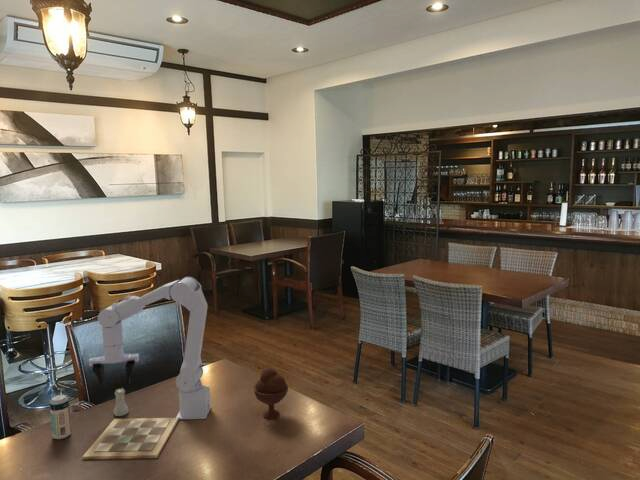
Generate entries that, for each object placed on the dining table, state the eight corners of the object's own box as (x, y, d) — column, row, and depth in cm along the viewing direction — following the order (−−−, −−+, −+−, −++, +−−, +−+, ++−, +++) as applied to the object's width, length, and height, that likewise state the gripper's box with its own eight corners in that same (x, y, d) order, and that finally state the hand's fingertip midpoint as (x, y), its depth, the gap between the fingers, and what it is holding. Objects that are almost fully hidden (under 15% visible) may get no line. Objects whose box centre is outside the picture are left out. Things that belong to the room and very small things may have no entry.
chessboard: (178, 420, 142) (178, 417, 142) (157, 457, 123) (157, 454, 122) (114, 421, 142) (114, 418, 142) (82, 459, 122) (82, 455, 122)
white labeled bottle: (74, 432, 136) (71, 393, 135) (64, 440, 131) (61, 401, 130) (59, 431, 136) (56, 393, 135) (48, 440, 132) (45, 400, 130)
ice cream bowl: (247, 420, 142) (246, 374, 140) (265, 404, 152) (264, 361, 150) (278, 426, 138) (277, 379, 136) (293, 410, 148) (293, 366, 146)
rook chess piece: (131, 411, 148) (130, 387, 147) (121, 417, 144) (120, 393, 143) (120, 409, 150) (119, 386, 149) (110, 415, 146) (108, 391, 145)
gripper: (139, 337, 150) (141, 377, 151) (91, 341, 146) (94, 382, 148) (136, 344, 143) (138, 385, 144) (85, 349, 139) (89, 391, 141)
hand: (116, 384), depth 146 cm, fingers open, 7 cm apart
